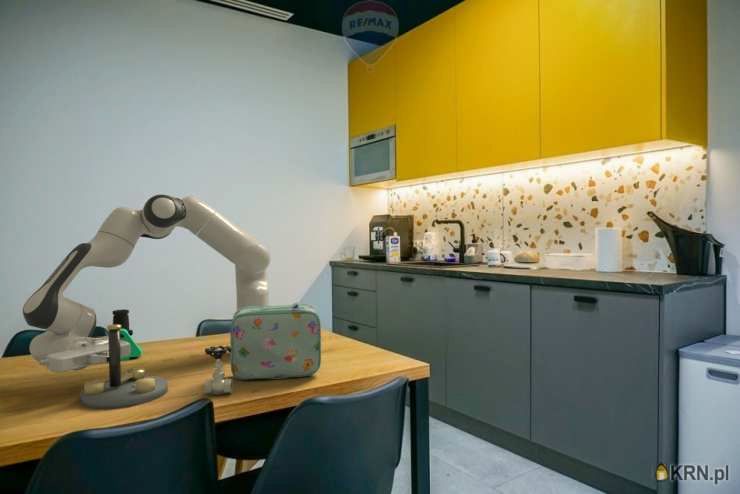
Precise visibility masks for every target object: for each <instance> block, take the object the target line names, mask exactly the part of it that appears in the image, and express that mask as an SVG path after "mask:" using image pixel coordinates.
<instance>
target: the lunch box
mask: <svg viewBox="0 0 740 494" xmlns="http://www.w3.org/2000/svg"><path fill="white" fill-rule="evenodd" d="M230 323H231V324H230V335H229V336H230V338H229V339H230V341H229V342H230V345H229V346H230V348H231V352H229V353H230V356H229V357H230V371H231V374H232V376H233V377H234V378H235V379H237V380H242V381H247V380H264V379H267V380H268V379H269V380H270V379H271V380H273V379H274V380H282V379H287V378H303V377H308V376H312V375H314V374H316V373H317V372H318V371H319V370H320V367H321V363H322V341H323V337H322V331H321V330H322V329H321V328H322V326H321V324H322V323H321V318H320V316H319V314H318V312H317V310H316V309H315V308H314V307H313V306H312V305H308V304H306V303H305V304H302V303H301V304H299V302H297V301H296V302H295V303H293V304H284V305H269V306H249V307H244V308H241V309H239V310H238V311H237V310H236V311H235V312H234V314H233V317H232V320H231V322H230Z"/></svg>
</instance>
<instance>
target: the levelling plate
mask: <svg viewBox="0 0 740 494" xmlns="http://www.w3.org/2000/svg"><path fill="white" fill-rule="evenodd" d="M168 383H169V382H168V380H167V379H166V378H163V377H162V376H156V375H145V378H143V379H139V380H127V379H126V380H124V381H122V382H121V385H120V386H118V387H110V384H109V379H108V380H104V379H94V380H90V381H87V382H84V385H83V387H84V389H83V390H82V391H81V392H80V404H81V405H82V406H83V407H86V408H91V409H98V408H100V409H101V410H102V409H105V410H107V409H106V408H108V409H118V408H120V409H121V408H126V407H127V406H128V407H132V405H133V406H137V405H142V404H146V403H148V402H149V403H150V402H152V401H155V400H156V399H159V398H161V397H163V396H164V395H165V394H167V393H168V391H169V385H168ZM154 399H155V400H154ZM128 407H127V408H128Z"/></svg>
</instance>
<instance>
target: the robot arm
mask: <svg viewBox="0 0 740 494" xmlns="http://www.w3.org/2000/svg"><path fill="white" fill-rule="evenodd" d="M176 227H179V228H183V229H186V230H188V231H189V232H190V233H192V234H193V235H194V236H196V238H198V239H199V240H201V241H202V242H204V243H205V244H206V245H207V246H209V247H211V249H212V250H215V251H216V252H217V253H218V254H220V255H221V256H222V257H223V258H225V259H227V260H228V261H229V262H230V263H232V264H234V268H235V269H234V270H235V287H236V312H237V311H238V310H239V309H241V308H244V307H249V306H270V295H269V293H270V292H269V291H270V290H269V282H268V272H267V269H268V267H269V265H270V263H271V253H270V251H269V249H268V248H267V246H265V245H264V244H263V243H261V242H260V241H259V240H257V239H256V238H254V237H253V236H252V235H250V234H249V233H248V232H247V231H245V230H243V228H241V227H240V226H238V225H236V223H233V222H232V221H231V220H230V219H228V218H227V217H226V216H224V215H223V214H222V213H220V212H219V211H218V210H217V209H215V208H214V207H212V206H211V205H210V204H208V203H207V202H205V201H203V200H202V199H199V198H198V197H195V196H192V195H191V196H190V195H188V196H185V197H183V198H182V199H180V198H178V197H174V196H171V195H167V194H155V195H154V196H151V197H150V198H148V200H147V201H146V202H145V204H144V205H143V207H142V209H139V210H138V209H133V208H130V207H127V206H126V207H125V206H120V207H116V208H115V209H113V210H112V211H111V212H110V214H109V215H108V216H107V217H106V218H105V220H104V221H103V222H102V224H101V225H100V227H99V229H98V231H97V232H96V234H95V236H94V237H93V238H92V239H91V240H90V241H87V242H82V243H79V244H78V245H77V246H75V247H74V248H73V249H72V250H71V251H70V252H69V253H68V254H67V256H65V258H64V259H63V260H62V261H61V263H59V265H58V266H57V267H56V268H55V269H54V271H53V272H52V273H51V274H50V276H49V277H48V278H47V279H46V281H45V282H44V283H43V284H42V285H41V286H40V287H39V288H38V289H37V290H36V291H34V292H33V294H32V295H30V297H29V298H28V299H27V300H26V301H25V303H24V304H23V308H22V316H23V318H24V320H25V322H26V324H27V325H28V326H30V327H34V328H37V329H42V330H45V332H43V333H41V334H38V335H36V336H35V337H34V338H32V340H31V341H30V343H29V353H30V355H31V357H32V358H33V359H34V360H35V361H36V362H38V365H41V366H46V369H47V371H50V372H53V373H58V374H60V373H66V372H68V371H69V372H70V371H74V372H75V371H76V372H77V371H82V370H84V369H86V368H87V367H89V366H90V367H91V366H93V365H97V364H98V365H99V364H109V337H108V336H109V335H103V336H102V335H100V336H93V334H94V332H95V329H96V326H97V314H96V311H95V310H94V309H93V308H91V307H89V306H86V305H84V304H81V303H79V302H77V301H74V300H71V299H69V298H67V297H65V296H64V292H65V291H66V289H67V288H68V286H69V285H70V284H71V283H72V281H73V280H75V278H76V277H77V276H78V274H79V272H81V270H83V269H84V268H88V267H95V268H108V269H110V268H116V267H118V266H121V265H124V263H125V262H127V261H128V260H129V257H130V256H131V255H132V253H133V251H134V249H135V247H136V245H137V243H138V241H139V239H140V238H146V239H151V240H160V239H164V238H166V237H168V236H169V235H171V234H172V232H173V230H174V229H175V228H176ZM130 352H131V346H130V343H129V342H126V341H122V340H120V357H121V358H122V357H126V356H129V355H130Z"/></svg>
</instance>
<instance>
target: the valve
mask: <svg viewBox="0 0 740 494" xmlns="http://www.w3.org/2000/svg"><path fill="white" fill-rule="evenodd" d="M204 352H205V355H208V356H210V357H212V358H213V359H214V360H216V361H215V362H214V368H215V370H214V371H213V372H212V378H213V379H205V381H204V386H203V392H204V394H205V395H216V396H221V395H223V394H225V395H226V394H232V393H233V390H234V380H233V378H225V379H224V377H225V371H224V370H223V369H222V368H223V361H221V360H222V359H223V356H224V355H226V354H227V353H230V352H231V348H230V345H226V346H224V345H218V346H210V347H209V348H205V349H204Z"/></svg>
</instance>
